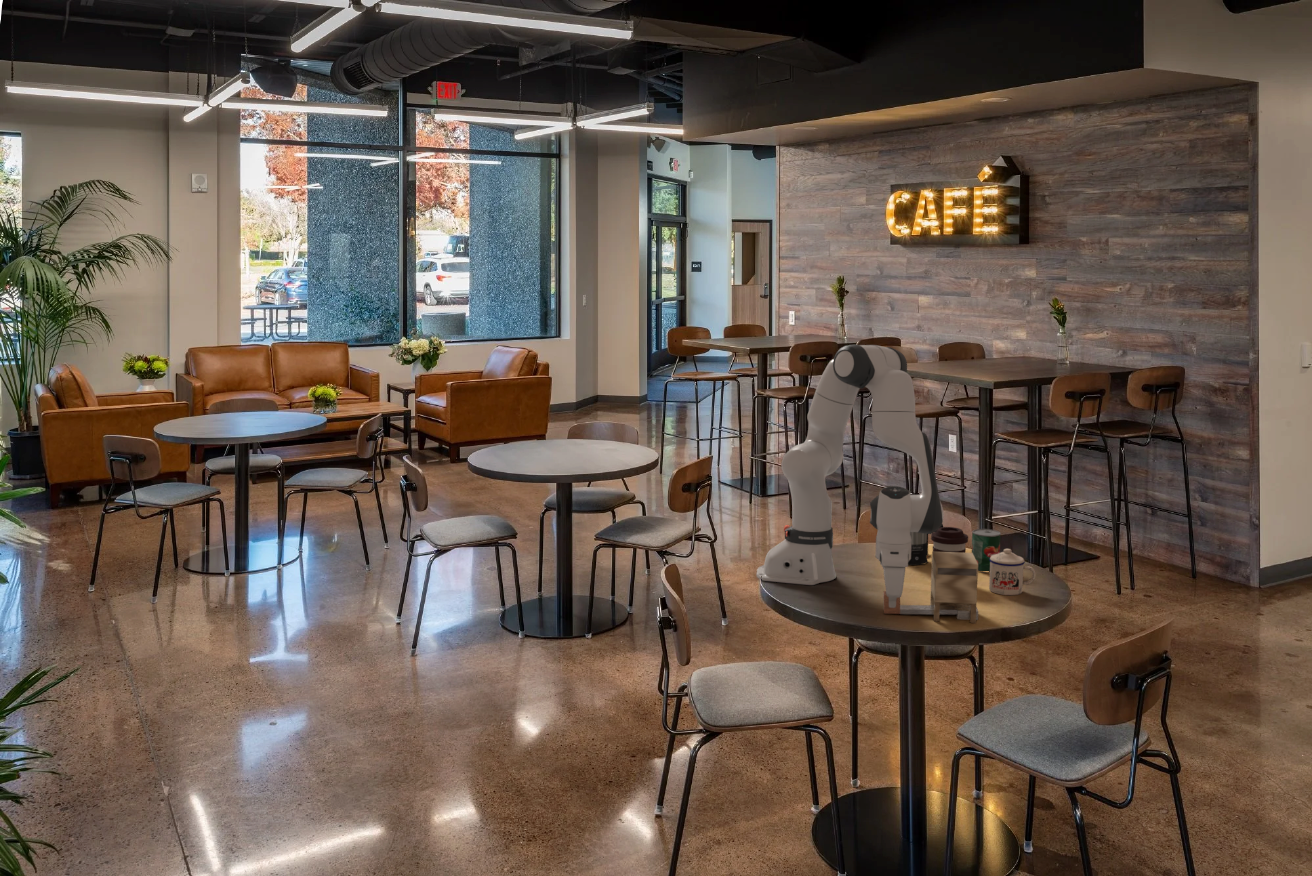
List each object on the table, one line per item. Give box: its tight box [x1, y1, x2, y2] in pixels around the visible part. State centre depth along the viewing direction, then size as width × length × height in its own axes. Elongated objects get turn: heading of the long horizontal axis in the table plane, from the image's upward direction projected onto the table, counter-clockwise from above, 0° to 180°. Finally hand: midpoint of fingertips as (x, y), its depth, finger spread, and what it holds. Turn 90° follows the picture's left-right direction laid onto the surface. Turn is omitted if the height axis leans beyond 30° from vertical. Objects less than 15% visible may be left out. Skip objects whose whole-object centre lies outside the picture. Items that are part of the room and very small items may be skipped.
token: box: [955, 605, 979, 621], centre depth 277 cm, size 5×5×2 cm
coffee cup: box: [930, 526, 969, 553], centre depth 307 cm, size 10×10×15 cm
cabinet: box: [929, 550, 979, 624], centre depth 277 cm, size 10×11×15 cm
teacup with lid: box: [988, 548, 1037, 596], centre depth 298 cm, size 12×9×12 cm
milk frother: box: [908, 523, 944, 566], centre depth 332 cm, size 14×16×15 cm
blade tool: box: [882, 590, 957, 615], centre depth 279 cm, size 18×4×5 cm, turn 80°
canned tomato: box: [971, 528, 1002, 572], centre depth 320 cm, size 8×8×11 cm
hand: (891, 604), depth 280 cm, fingers closed on blade tool, 3 cm apart
